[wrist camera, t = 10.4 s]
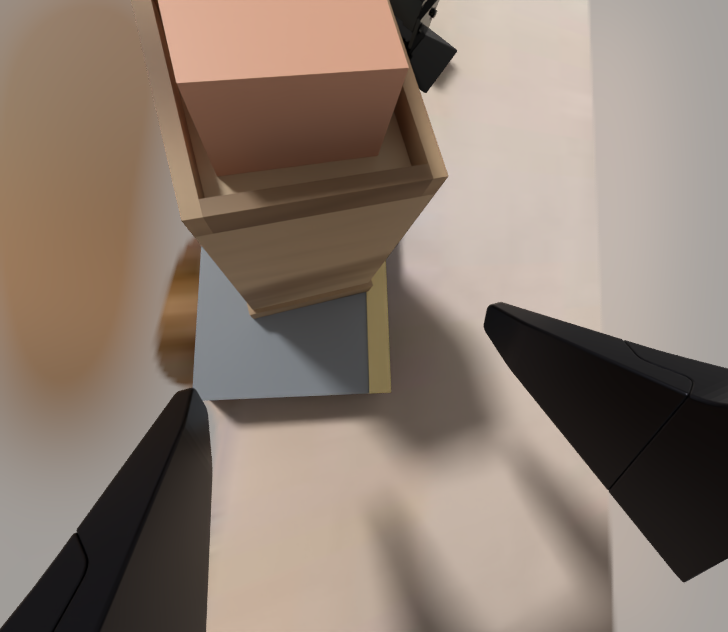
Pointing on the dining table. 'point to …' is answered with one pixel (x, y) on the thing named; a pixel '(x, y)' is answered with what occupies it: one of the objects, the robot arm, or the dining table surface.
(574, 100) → the dining table surface
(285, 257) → the open wooden bin
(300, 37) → the block
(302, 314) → the dock
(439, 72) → the black slotted stand
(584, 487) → the dining table surface
